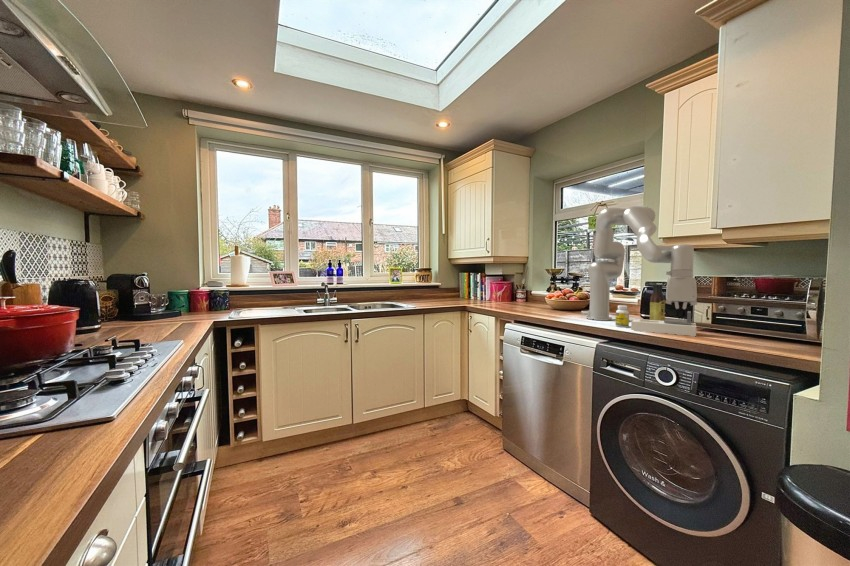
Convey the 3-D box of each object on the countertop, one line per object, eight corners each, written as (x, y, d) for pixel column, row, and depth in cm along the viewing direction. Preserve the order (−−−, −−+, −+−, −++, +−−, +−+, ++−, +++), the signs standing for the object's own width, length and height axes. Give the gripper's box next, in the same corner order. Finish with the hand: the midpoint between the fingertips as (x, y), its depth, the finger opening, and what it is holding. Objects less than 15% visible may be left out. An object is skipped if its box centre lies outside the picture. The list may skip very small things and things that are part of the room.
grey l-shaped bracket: (664, 322, 142) (664, 311, 142) (665, 320, 149) (665, 309, 149) (691, 324, 137) (691, 312, 137) (691, 322, 143) (691, 311, 143)
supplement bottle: (612, 326, 161) (613, 305, 161) (620, 325, 163) (621, 305, 163) (623, 327, 156) (624, 306, 156) (631, 327, 158) (632, 306, 158)
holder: (631, 330, 148) (631, 321, 148) (634, 327, 158) (635, 318, 157) (695, 336, 135) (696, 326, 134) (695, 332, 144) (695, 323, 144)
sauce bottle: (664, 324, 167) (665, 284, 166) (648, 323, 171) (649, 283, 170) (664, 323, 172) (665, 284, 172) (649, 322, 176) (650, 283, 175)
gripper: (659, 274, 143) (658, 317, 144) (705, 274, 134) (703, 320, 135) (660, 274, 149) (659, 316, 150) (704, 274, 140) (703, 319, 141)
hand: (680, 318), depth 142 cm, fingers closed
